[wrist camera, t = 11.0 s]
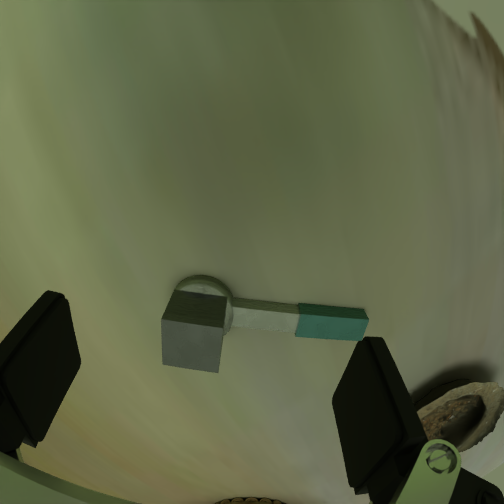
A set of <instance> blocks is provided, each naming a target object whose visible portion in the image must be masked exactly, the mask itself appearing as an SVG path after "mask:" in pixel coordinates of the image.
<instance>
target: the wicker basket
mask: <svg viewBox="0 0 504 504" xmlns="http://www.w3.org/2000/svg"><path fill="white" fill-rule="evenodd" d="M227 501H228V502H227ZM237 501H239V502H237ZM241 501H242V502H241ZM250 501H253V502H250ZM225 503H226V504H281V502H280V501H278V500H275V501H273V503H272V502H271V501H270V500H269V499H267V498H262V499H261V500H260V501H259V502H258V500H257V499H256V498H254V497H249V498H247V499H246V500H245V502H244V501H243V499H241V498H235V499H233V500H232V501H231V502H230V501H229V500H227V499H225V500H223V501H222V502H221V504H225ZM216 504H220V503H219V502H217V503H216ZM283 504H285V503H283Z"/></svg>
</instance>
